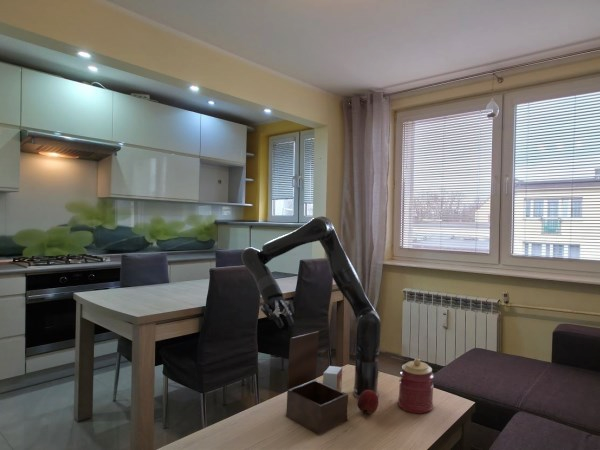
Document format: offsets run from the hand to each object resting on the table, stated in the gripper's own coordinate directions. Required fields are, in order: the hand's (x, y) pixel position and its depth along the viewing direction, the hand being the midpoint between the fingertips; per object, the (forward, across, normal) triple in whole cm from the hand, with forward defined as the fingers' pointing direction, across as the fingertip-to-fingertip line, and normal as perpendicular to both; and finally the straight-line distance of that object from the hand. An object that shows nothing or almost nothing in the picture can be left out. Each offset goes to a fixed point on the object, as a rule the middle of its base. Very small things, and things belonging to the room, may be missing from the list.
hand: (287, 325), depth 142 cm
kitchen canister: (+46, +32, -6) cm, 57 cm away
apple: (+40, +15, 0) cm, 43 cm away
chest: (+33, 0, +7) cm, 33 cm away
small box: (+27, +15, +13) cm, 34 cm away
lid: (+14, 0, 0) cm, 14 cm away
